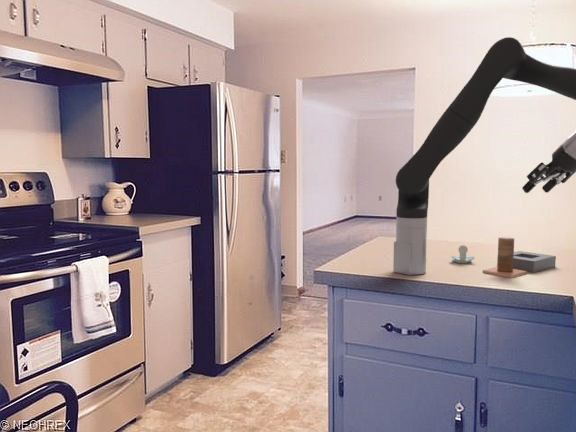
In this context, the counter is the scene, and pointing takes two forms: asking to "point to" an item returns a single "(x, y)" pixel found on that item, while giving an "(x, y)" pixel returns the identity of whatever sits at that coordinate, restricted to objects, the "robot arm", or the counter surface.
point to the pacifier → (462, 255)
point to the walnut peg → (505, 254)
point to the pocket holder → (532, 261)
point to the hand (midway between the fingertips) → (534, 190)
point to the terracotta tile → (505, 274)
